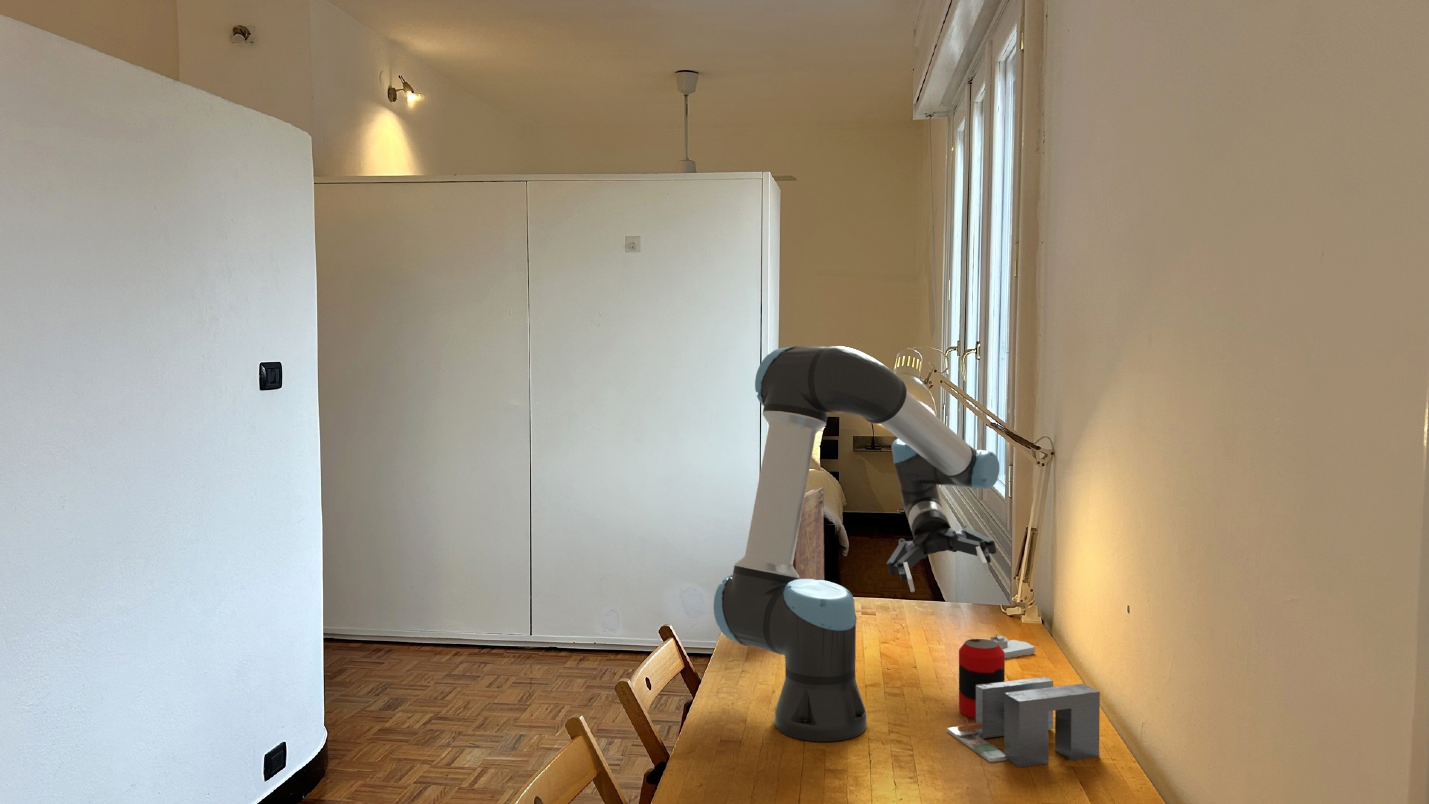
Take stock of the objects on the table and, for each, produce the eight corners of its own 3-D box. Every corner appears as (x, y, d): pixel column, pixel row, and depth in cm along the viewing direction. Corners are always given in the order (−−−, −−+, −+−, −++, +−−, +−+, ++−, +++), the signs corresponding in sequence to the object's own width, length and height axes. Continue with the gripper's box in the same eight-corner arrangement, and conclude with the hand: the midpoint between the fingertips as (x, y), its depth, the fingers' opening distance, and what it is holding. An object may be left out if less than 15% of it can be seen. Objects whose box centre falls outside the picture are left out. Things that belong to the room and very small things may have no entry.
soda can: (986, 702, 178) (986, 635, 178) (1013, 716, 171) (1014, 646, 171) (950, 708, 176) (950, 640, 175) (976, 723, 169) (976, 652, 168)
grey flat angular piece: (996, 642, 217) (996, 624, 216) (1041, 654, 208) (1041, 635, 207) (960, 653, 209) (960, 634, 209) (1005, 665, 200) (1005, 646, 200)
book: (787, 609, 244) (786, 485, 243) (824, 612, 241) (824, 487, 239) (755, 637, 220) (754, 501, 219) (796, 641, 217) (795, 502, 216)
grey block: (979, 753, 155) (979, 701, 155) (955, 736, 162) (955, 687, 162) (1071, 740, 160) (1072, 690, 160) (1045, 724, 167) (1045, 676, 166)
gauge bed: (1001, 770, 150) (1001, 703, 149) (947, 731, 165) (947, 671, 164) (1099, 756, 154) (1099, 691, 154) (1037, 719, 170) (1037, 661, 169)
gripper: (995, 529, 202) (1021, 580, 181) (872, 556, 205) (884, 609, 184) (988, 496, 199) (1014, 544, 179) (864, 523, 202) (876, 573, 182)
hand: (948, 577), depth 182 cm, fingers open, 13 cm apart
